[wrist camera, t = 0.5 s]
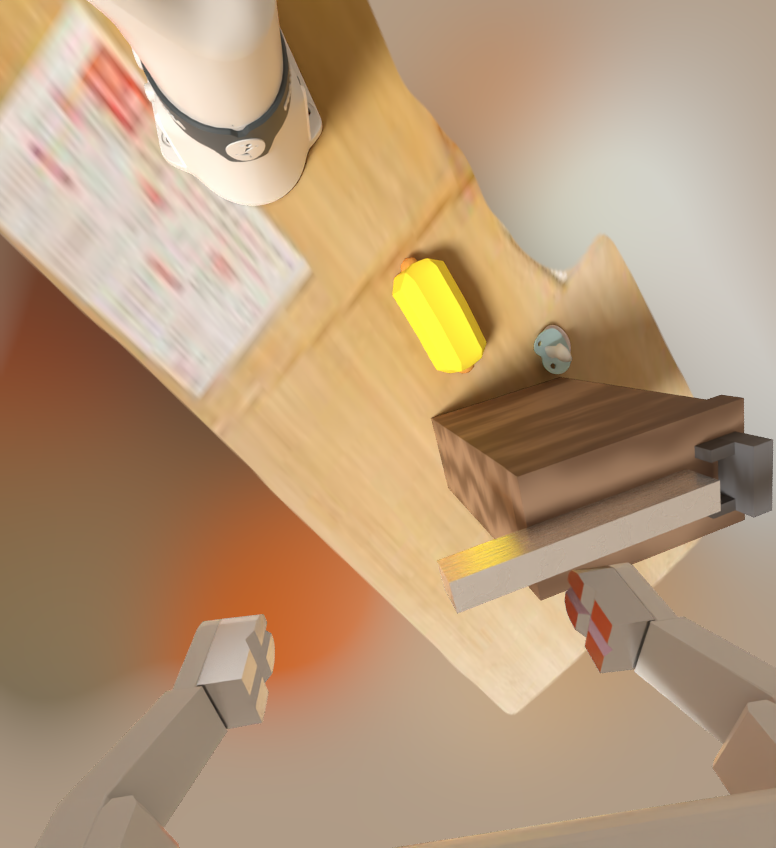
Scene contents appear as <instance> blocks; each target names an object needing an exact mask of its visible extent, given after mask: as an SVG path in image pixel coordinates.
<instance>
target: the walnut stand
mask: <svg viewBox="0 0 776 848" xmlns="http://www.w3.org/2000/svg"><path fill="white" fill-rule="evenodd" d="M431 419H432V423H433V427H434V431H435V435H436V439H437V443H438V447H439V452H440V456H441V460H442V464H443V468H444V472H445V476H446V480H447V484H448V488H449V489H450V490H451V491H452V492H453V494H454V495H455V496H456V497H457V498H458V499H459V500H460V501H461V502H462V504H463V505H464V506H465V507H466V508H467V509H468V510H469V511H470V512H471V514H472V515H473V516H474V517H475V518H476V519H477V520H478V521H479V522H480V523H481V525H482V526H483V527H484V528H485V529H486V530H487V531H488V532H489V533H490V535H491V536H492V537H493V538H494V539H497V538H500V537H503V536H505V535H508V534H511V533H513V532H516V531H519V530H522V529H524V528H527V527H530V526H532V525H535V524H538V523H541V522H543V521H546V520H549V519H551V518H554V517H557V516H560V515H562V514H565V513H568V512H570V511H573V510H576V509H579V508H581V507H584V506H587V505H590V504H592V503H595V502H598V501H600V500H603V499H606V498H609V497H611V496H614V495H617V494H619V493H622V492H625V491H628V490H630V489H633V488H636V487H638V486H641V485H644V484H647V483H649V482H652V481H655V480H657V479H660V478H663V477H666V476H668V475H671V474H674V473H676V472H679V471H682V470H685V469H688V470H691V471H694V472H697V473H700V474H702V475H705V476H708V477H711V478H714V479H717V480H720V503H721V511H719V512H717V513H714V514H712V515H709V516H707V517H704V518H701V519H699V520H696V521H694V522H691V523H689V524H686V525H683V526H681V527H678V528H676V529H673V530H671V531H668V532H665V533H663V534H660V535H658V536H655V537H653V538H650V539H647V540H645V541H642V542H640V543H637V544H635V545H632V546H629V547H627V548H624V549H622V550H619V551H617V552H614V553H611V554H609V555H606V556H604V557H601V558H599V559H596V560H593V561H591V562H588V563H586V564H583V565H581V566H578V567H575V568H573V569H570V570H568V571H565V572H563V573H560V574H557V575H555V576H552V577H550V578H547V579H545V580H542V581H540V582H537V583H534V584H532V585H529V588H530V589H531V590H532V591H533V592H534V594H535V595H536V596H537V597H538V598H539V599H540V600H544V599H546V598H549V597H551V596H554V595H556V594H559V593H561V592H564V591H566V590H568V589H569V588H570V587H571V585H570V584H569V582H568V581H567V580H568V574H569V573H570V572H571V570H578V569H584V568H590V567H597V566H603V565H607V566H608V565H614V564H620V563H630V564H631V565H632V564H634V563H637V562H639V561H642V560H644V559H647V558H650V557H652V556H655V555H657V554H660V553H662V552H665V551H667V550H670V549H672V548H675V547H677V546H680V545H682V544H685V543H687V542H690V541H692V540H695V539H697V538H700V537H703V536H705V535H707V534H710V533H713V532H715V531H717V530H720V529H723V528H725V527H728V526H730V525H733V524H735V523H738V522H740V521H743V520H745V514H746V515H749V516H751V517H756V516H759V515H761V514H764V513H766V512H769V511H771V510H772V474H773V470H772V469H773V440H772V439H768V438H763V437H758V436H754V435H749V434H745V433H744V398H740V397H733V396H726V395H719V396H716V397H713V398H710V399H707V400H705V399H699V398H692V397H686V396H679V395H673V394H666V393H660V392H653V391H647V390H640V389H634V388H627V387H620V386H614V385H607V384H601V383H594V382H588V381H581V380H575V379H568V378H562V377H560V378H556V379H553V380H550V381H547V382H544V383H541V384H538V385H534V386H531V387H528V388H525V389H522V390H519V391H516V392H512V393H509V394H506V395H503V396H500V397H497V398H493V399H490V400H487V401H484V402H481V403H478V404H475V405H471V406H468V407H465V408H462V409H459V410H456V411H453V412H449V413H446V414H443V415H440V416H437V417H434V418H431Z"/></svg>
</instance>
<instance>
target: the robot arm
mask: <svg viewBox="0 0 776 848" xmlns="http://www.w3.org/2000/svg"><path fill="white" fill-rule="evenodd" d="M87 1H89V2H90V3H91V4H92V5H94V6H95V7H96V8H97V9H98V10H100V11H101V12H102V13H103V14H104V15H106V16H107V17H108V18H109V19H110V20H111V21H112V22H113V23H114V24H115V26H116V27H117V28H118V29H119V31H120V32H121V33H122V35H123V36H124V37H125V39H126V40H127V41H128V43H129V44H130V45H131V47H132V51H133V54H134V57H135V59H136V62H137V64H138V66H139V67H140V69H142V70H144V72H145V74H146V76H147V80H148V83H145V84H144V88H145V92H146V95H147V97H148V99H149V101H151V102H152V106H153V112H154V117H155V122H156V128H157V133H158V138H159V144H160V149H161V152H162V155H163V156H164V158H165V160H166V161H167V162H168V163H169V164H170V165H172V166H174V167H176V168H178V169H180V170H183V171H185V172H188V173H191V174H192V175H194V176H195V177H196V178H198V179H199V180H200V181H201V182H202V183H203V184H204V185H205V186H207V187H208V188H209V189H210V190H211V191H213V192H214V193H216V194H217V195H219V196H220V197H222V198H224V199H226V200H229V201H231V202H234V203H238V204H242V205H251V206H255V205H264V204H268V203H271V202H274V201H276V200H278V199H280V198H281V197H283V196H284V195H286V194H287V193H288V192H289V191H290V190H291V189H292V188H293V187H294V186H295V184H296V183H297V181H298V180H299V178H300V176H301V174H302V171H303V168H304V165H305V161H306V157H307V154H308V151H309V149H310V147H311V146H312V145H313V144H314V143H315V141H316V140H317V139H318V137H319V136H320V134H321V132H322V120H321V117H320V115H319V113H318V110H317V108H316V106H315V104H314V101H313V99H312V97H311V95H310V93H309V90H308V88H307V86H306V84H305V81H304V79H303V77H302V75H301V73H300V70H299V68H298V66H297V64H296V61H295V59H294V57H293V55H292V53H291V50H290V48H289V46H288V44H287V41H286V39H285V37H284V35H283V33H282V30H281V28H280V26H279V18H278V10H277V1H276V0H87ZM308 111H309V112H310V113H311V114H310V115H309V114H308ZM168 141H169V143H168ZM567 581H568V582H569V584H570V585H571V587H570V588H569V589H568V590H567V591H566V592H565V606H566V611H567V614H568V616H569V619H570V621H571V623H572V625H573V627H574V628H575V630H576V631H578V632H579V633H581V634H582V635H583V636H585V637H586V640H585V648H586V650H587V651H588V653H589V655H590V657H591V658H592V660H593V662H594V663H595V665H596V667H597V669H598V670H599V672H600V673H606V672H615V671H624V670H632V669H635V672H636V673H637V674H638V675H639V676H641V677H642V678H643V679H644V680H646V681H647V682H648V683H649V684H650V685H652V686H653V687H654V688H655V689H657V690H658V691H659V692H660V693H661V694H663V695H664V696H665V697H666V698H668V699H669V700H670V701H671V702H672V703H674V704H675V705H676V706H677V707H678V708H680V709H681V710H682V711H683V712H684V713H686V714H687V715H688V716H690V718H692V719H693V720H694V721H695V722H697V723H698V724H699V725H700V726H702V727H703V728H704V729H705V730H706V731H708V732H709V733H710V734H711V735H712V736H714V737H715V738H716V739H717V740H718V741H720V742H721V743H722V744H723V746H722V747H721V749H720V751H719V752H718V754H717V756H716V757H715V759H714V762H713V770H714V771H715V772H716V774H717V776H718V777H719V779H720V780H721V782H722V783H723V785H724V786H725V787H726V789H727V791H728V792H729V794H730V795H727V796H720V797H714V798H707V799H700V800H695V801H688V802H681V803H675V804H669V805H663V806H656V807H649V808H643V809H637V810H630V811H625V812H618V813H611V814H605V815H599V816H592V817H586V818H580V819H573V820H567V821H560V822H554V823H548V824H541V825H535V826H529V827H522V828H515V829H509V830H503V831H496V832H490V833H484V834H477V835H471V836H465V837H458V838H452V839H445V840H439V841H433V842H427V843H420V844H414V845H407V846H401V847H395V848H776V668H775V667H773V666H772V665H770V664H768V663H766V662H765V661H762V660H761V659H759V658H757V657H756V656H754V655H752V654H750V653H748V652H747V651H745V650H743V649H741V648H739V647H737V646H736V645H734V644H732V643H730V642H728V641H727V640H725V639H723V638H721V637H720V636H718V635H716V634H714V633H713V632H711V631H709V630H707V629H705V628H704V627H701V626H700V625H698V624H696V623H695V622H693V621H691V620H689V619H687V618H686V617H677V616H676V614H675V613H674V612H673V611H672V610H671V609H670V608H669V606H668V605H667V604H666V603H665V602H664V600H663V599H662V598H661V597H660V596H659V595H658V594H657V592H656V591H655V590H654V589H653V588H652V587H651V586H650V584H649V583H648V582H647V581H646V580H645V579H644V578H643V576H642V575H641V574H640V573H639V572H638V571H637V569H636V568H635V567H634V566H633V565H631V564H630V563H620V564H614V565H608V566H607V565H603V566H597V567H590V568H584V569H578V570H571V572H570V573H569V574H568V580H567ZM266 625H267V621H266V619H265V617H264V615H263V614H262V615H254V616H244V617H235V618H226V619H219V620H211V621H203V622H202V623H201V625H200V626H199V627H198V629H197V631H196V634H195V636H194V638H193V641H192V643H191V646H190V648H189V651H188V653H187V655H186V658H185V660H184V663H183V665H182V668H181V670H180V672H179V675H178V677H177V680H176V682H175V685H174V687H173V689H172V690H170V691H166V692H165V693H164V694H163V695H162V696H161V697H160V698H159V699H158V700H157V701H156V702H155V703H154V704H153V705H152V706H151V707H150V708H149V710H148V711H147V712H146V713H145V714H144V715H143V716H142V717H141V718H140V719H139V720H138V721H137V722H136V723H135V724H134V725H133V726H132V727H131V728H130V729H129V730H128V731H127V732H126V734H124V735H123V737H122V738H121V739H120V740H119V741H118V742H117V743H116V744H115V745H114V746H113V747H112V748H111V749H110V750H109V751H108V752H107V753H106V754H105V755H104V756H103V757H102V758H101V760H100V761H99V762H98V763H97V764H96V765H95V766H94V767H93V768H92V769H91V770H90V771H89V772H88V773H87V774H86V775H85V776H84V777H83V778H82V779H81V780H80V781H79V782H78V783H77V785H76V786H75V787H74V788H73V789H72V790H71V791H70V792H69V793H68V794H67V795H66V796H65V797H64V798H63V800H61V801H60V802H59V803H58V805H57V807H56V809H55V811H54V812H53V814H52V816H51V818H50V820H49V822H48V824H47V826H46V828H45V829H44V831H43V833H42V835H41V837H40V839H39V841H38V843H37V845H36V847H35V848H180V847H179V844H178V843H177V842H176V841H175V840H174V838H173V837H172V836H171V835H170V834H169V833H168V832H167V831H166V830H165V829H164V827H165V825H166V824H167V822H168V821H169V819H170V817H171V816H172V815H173V813H174V812H175V810H176V809H177V807H178V806H179V804H180V803H181V801H182V800H183V798H184V797H185V795H186V793H187V792H188V791H189V789H190V788H191V786H192V784H193V783H194V781H195V780H196V778H197V777H198V775H199V774H200V772H201V771H202V769H203V768H204V766H205V765H206V763H207V762H208V760H209V759H210V757H211V756H212V754H213V753H214V751H215V750H216V748H217V746H218V745H219V744H220V742H221V741H222V739H223V737H224V736H225V734H226V733H227V729H230V728H236V727H242V726H247V725H253V724H259V723H263V718H264V713H265V707H266V703H267V698H268V690H267V688H266V685H265V682H266V681H267V679H268V678H269V677H270V676H271V674H272V672H273V666H274V657H275V647H274V640H273V637H272V634H271V633H269V632H268V631H266V630H265V629H266Z"/></svg>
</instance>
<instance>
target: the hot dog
mask: <svg viewBox="0 0 776 848" xmlns="http://www.w3.org/2000/svg"><path fill="white" fill-rule="evenodd" d="M392 295H393V297H394V298H395V300H396V302H397V303H398V305H399V307H400V308H401V310H402V311H403V313H404V315H405V316H406V318H407V320H408V321H409V323H410V324H411V326H412V328H413V329H414V331H415V333H416V334H417V336H418V338H419V340H420V341H421V343H422V345H423V347H424V348H425V350H426V352H427V354H428V355H429V357H430V359H431V361H432V362H433V364H434V366H435V368H436V370H439V371H443V372H447V373H454V372H460V373H468V372H470V371H471V370H472V368H473V367H474V364H475V363H476V362H477V361H478V360H480V359H481V358H482V355H483V352H484V349H485V346H486V343H487V342H486V340H485V338H484V336H483V334H482V332H481V330H480V328H479V326H478V324H477V322H476V320H475V318H474V316H473V314H472V312H471V310H470V308H469V306H468V304H467V302H466V300H465V298H464V296H463V295H462V293H461V291H460V289H459V288H458V286H457V284H456V282H455V281H454V279H453V277H452V275H451V274H450V272H449V270H448V268H447V267H446V265H445V263H444V261H440V260H435V259H429V258H426V259H422V260H419V261H417V260H416V259H415V258H414V257H412V258H405V260H404V261H403V263H402V264H401V273H399V274H398V275H397V276H396V277H395V278H394V285H393V294H392Z"/></svg>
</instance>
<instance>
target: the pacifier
mask: <svg viewBox="0 0 776 848" xmlns="http://www.w3.org/2000/svg"><path fill="white" fill-rule="evenodd" d="M539 341H541V342H540V343H539V346H538V342H539ZM534 351H535V352H536V354H538V355H539V356H541V358H542V364H543V366H544V368H545V369H546V370H547V371H548V372H550V373H553V374H562V373H564V372H565V371H567V369H568V368H569V366H570V363H571V361H572V356H571V354H570V352H571V345H570V341H569V338H568V336H567V334H566V333H565V331H563V330H562V329H561V328H560V327H558V326H556V325H549V326H547V327H546V328H545V329H544V330H543V332H541V333H540V334H539V335H538V337H537V338H536V340H535V342H534ZM552 363H553V364H554V365H555V368H554V369H552V368H551V364H552Z"/></svg>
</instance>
